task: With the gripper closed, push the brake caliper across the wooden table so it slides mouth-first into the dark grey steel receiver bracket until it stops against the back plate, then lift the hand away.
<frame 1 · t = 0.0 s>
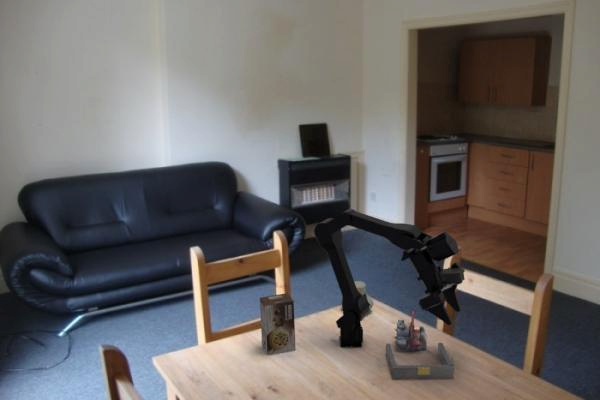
hand: (454, 317, 154), 15 cm above the table, tool tilted 35°, fingers open, 9 cm apart
coffee box: (278, 348, 171), on the table
air freshener: (357, 311, 195), on the table
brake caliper: (410, 345, 171), on the table
receiver: (417, 365, 159), on the table
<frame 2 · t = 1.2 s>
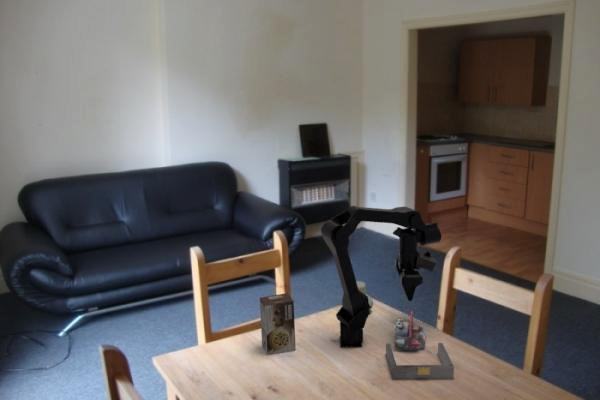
hand: (408, 294, 178), 12 cm above the table, tool pointing down, fingers open, 9 cm apart
nothing on the table moved.
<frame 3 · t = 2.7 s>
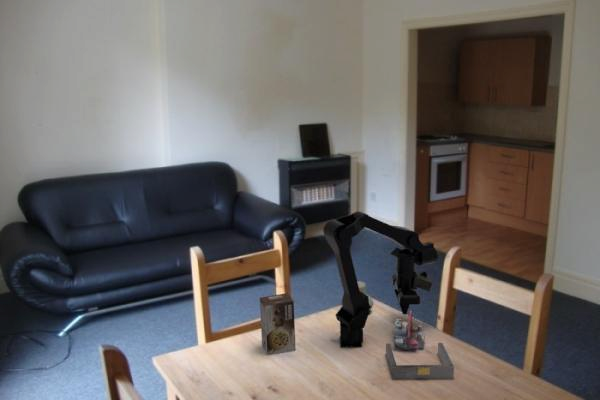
hand: (404, 313, 180), 5 cm above the table, tool pointing down, fingers closed
nothing on the table moved.
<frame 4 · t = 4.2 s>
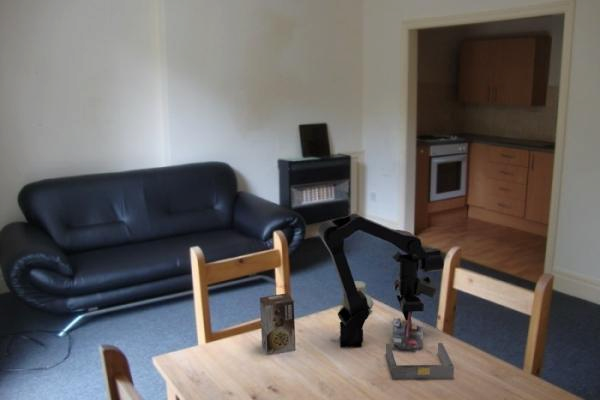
hand: (407, 320, 176), 5 cm above the table, tool pointing down, fingers closed
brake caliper: (406, 344, 171), on the table, touching gripper
everything else where it was.
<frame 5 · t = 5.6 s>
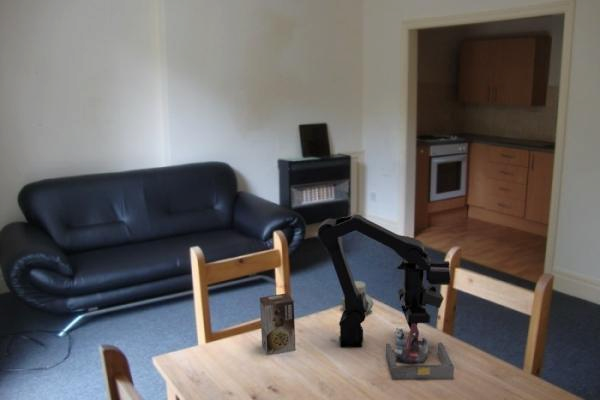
hand: (412, 331, 168), 5 cm above the table, tool pointing down, fingers closed
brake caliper: (410, 356, 164), on the table, touching gripper, receiver
everything else where it was.
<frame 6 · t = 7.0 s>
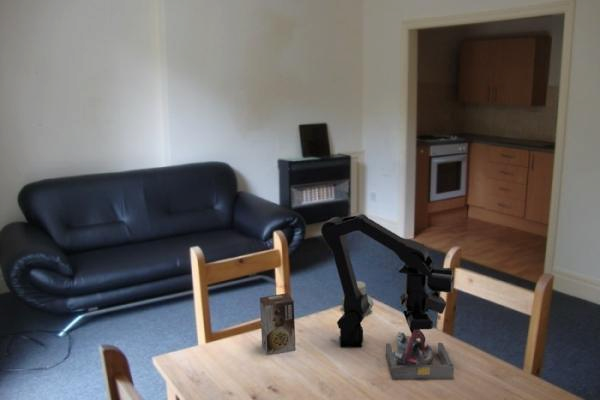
hand: (414, 337, 164), 5 cm above the table, tool pointing down, fingers closed
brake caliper: (413, 362, 161), on the table, touching gripper, receiver
everything else where it was.
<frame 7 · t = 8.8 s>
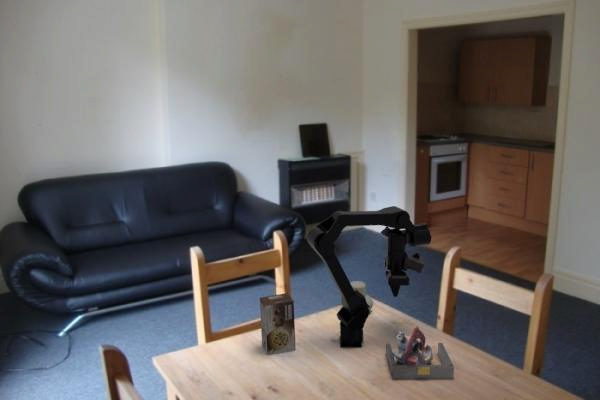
hand: (395, 296, 175), 13 cm above the table, tool pointing down, fingers closed
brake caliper: (413, 362, 161), on the table
everything else where it was.
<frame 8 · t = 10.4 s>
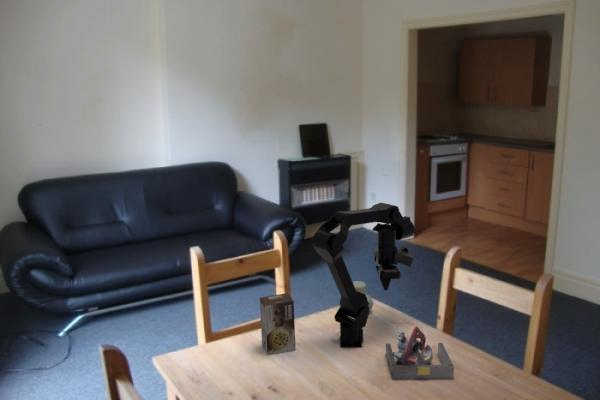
hand: (385, 289, 179), 13 cm above the table, tool pointing down, fingers closed
nothing on the table moved.
at the end: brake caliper inside the target area (3.1 cm from its centre), on the table; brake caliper tilted 0°; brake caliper moved 9.5 cm from its start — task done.
